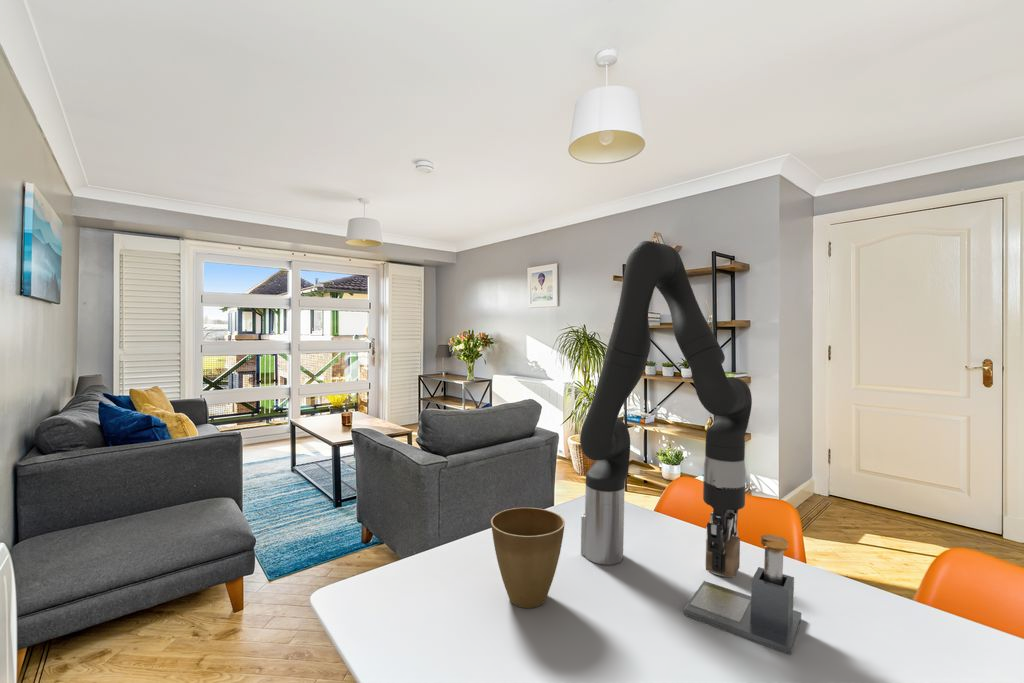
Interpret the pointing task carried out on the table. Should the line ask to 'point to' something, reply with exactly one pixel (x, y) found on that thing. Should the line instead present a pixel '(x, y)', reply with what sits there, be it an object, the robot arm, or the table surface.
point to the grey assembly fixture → (750, 611)
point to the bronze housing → (727, 557)
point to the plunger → (773, 558)
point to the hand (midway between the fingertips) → (722, 565)
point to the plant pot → (527, 552)
